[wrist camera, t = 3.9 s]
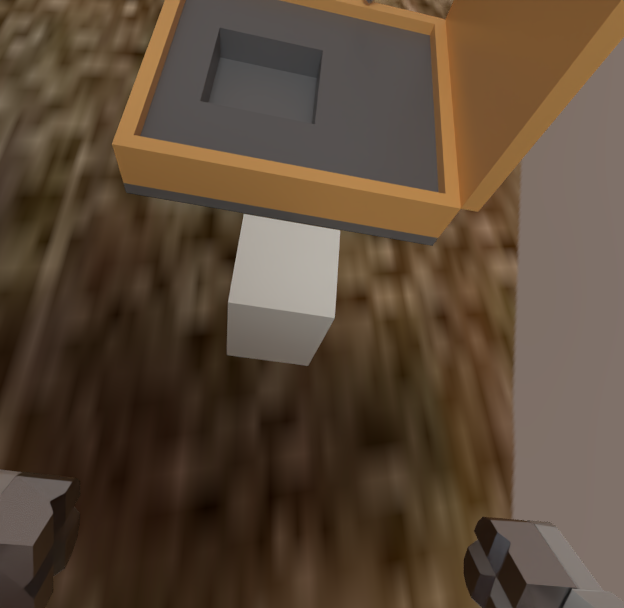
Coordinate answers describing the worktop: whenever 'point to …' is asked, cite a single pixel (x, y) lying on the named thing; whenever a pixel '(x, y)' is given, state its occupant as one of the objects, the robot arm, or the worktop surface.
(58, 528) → the robot arm
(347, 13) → the equipment case
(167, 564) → the worktop surface
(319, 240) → the plate
